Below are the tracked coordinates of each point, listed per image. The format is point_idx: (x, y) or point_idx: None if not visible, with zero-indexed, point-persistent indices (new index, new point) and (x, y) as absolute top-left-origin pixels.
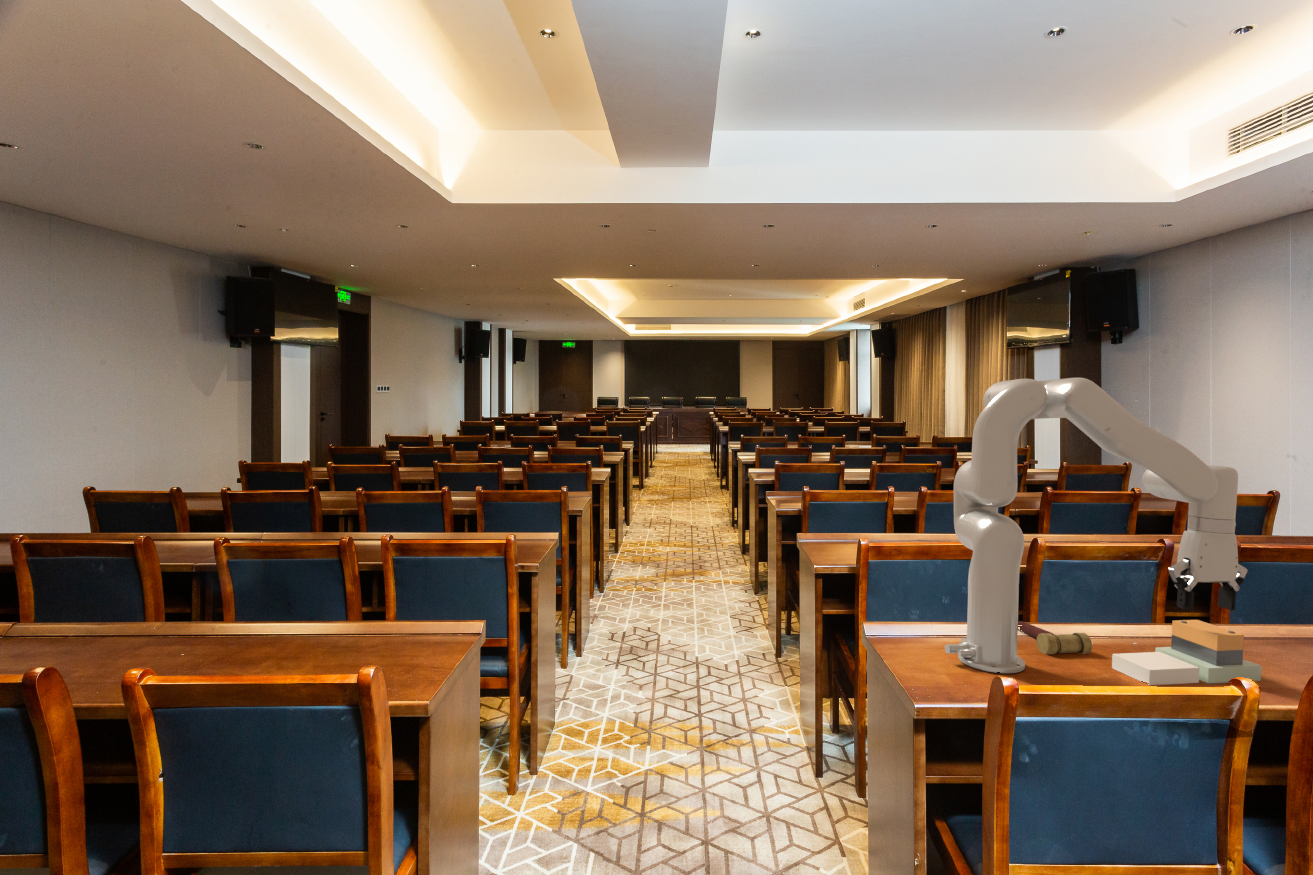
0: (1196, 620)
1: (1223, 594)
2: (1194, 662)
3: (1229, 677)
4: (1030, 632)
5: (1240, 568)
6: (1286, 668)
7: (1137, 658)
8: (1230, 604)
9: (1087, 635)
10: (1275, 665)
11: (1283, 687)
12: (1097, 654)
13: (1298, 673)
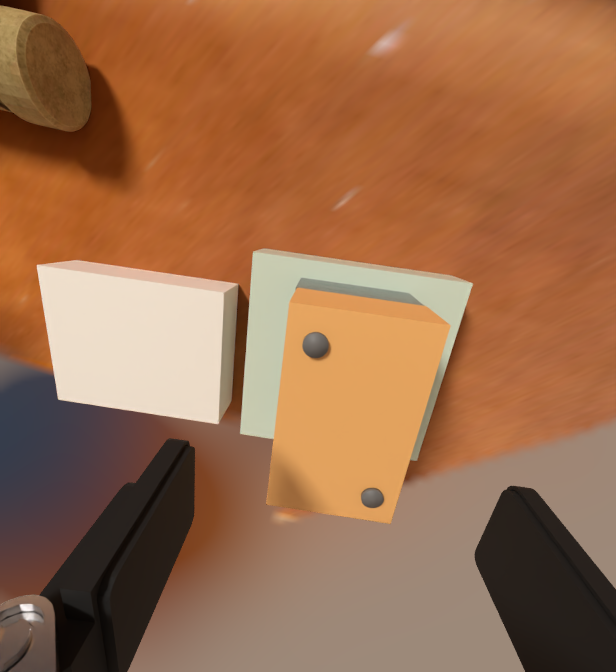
0: (427, 335)
1: (559, 623)
2: (245, 393)
3: None
4: None
5: None
6: (598, 397)
7: (91, 322)
8: (494, 587)
9: (20, 82)
10: (602, 374)
11: (408, 470)
12: (118, 134)
13: (575, 428)
